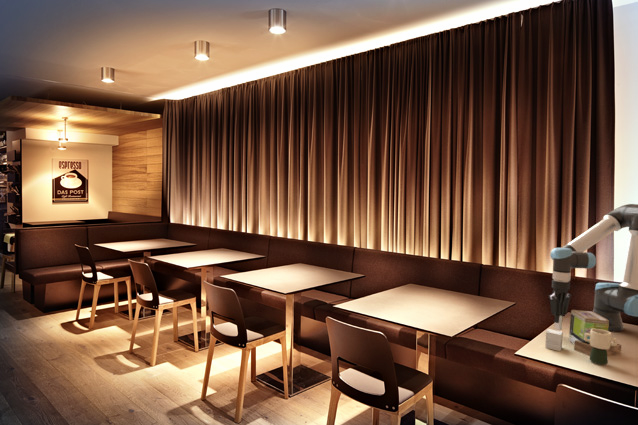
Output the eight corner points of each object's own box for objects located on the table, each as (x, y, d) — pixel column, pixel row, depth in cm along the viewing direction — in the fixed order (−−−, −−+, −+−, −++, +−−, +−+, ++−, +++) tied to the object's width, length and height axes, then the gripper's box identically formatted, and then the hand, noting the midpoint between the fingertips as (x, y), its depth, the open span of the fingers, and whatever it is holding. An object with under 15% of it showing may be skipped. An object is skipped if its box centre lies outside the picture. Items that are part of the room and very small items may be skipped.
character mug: (613, 363, 178) (616, 331, 178) (615, 369, 172) (618, 336, 171) (582, 357, 184) (584, 326, 183) (583, 362, 177) (585, 330, 177)
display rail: (598, 346, 198) (598, 336, 198) (620, 354, 189) (621, 344, 189) (574, 349, 192) (574, 340, 192) (596, 358, 183) (597, 348, 183)
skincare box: (562, 347, 194) (563, 331, 194) (560, 351, 189) (561, 334, 189) (546, 344, 198) (547, 328, 197) (544, 348, 193) (546, 331, 192)
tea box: (607, 354, 189) (610, 320, 188) (581, 351, 190) (584, 318, 190) (591, 342, 204) (593, 310, 203) (567, 340, 205) (570, 308, 204)
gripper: (563, 278, 215) (560, 325, 217) (544, 279, 210) (541, 328, 212) (577, 281, 209) (574, 330, 210) (558, 282, 203) (555, 332, 205)
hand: (558, 329), depth 211 cm, fingers closed
